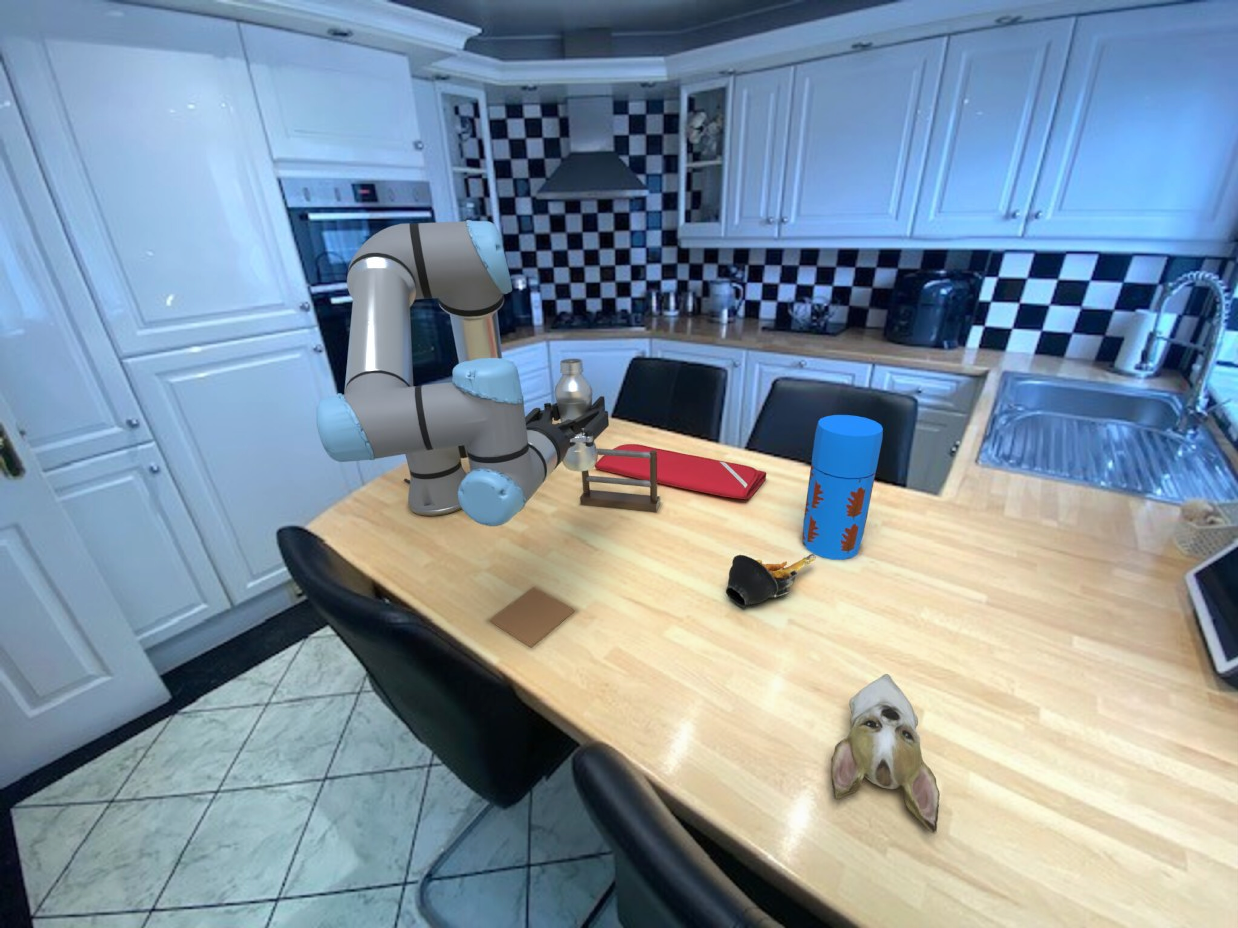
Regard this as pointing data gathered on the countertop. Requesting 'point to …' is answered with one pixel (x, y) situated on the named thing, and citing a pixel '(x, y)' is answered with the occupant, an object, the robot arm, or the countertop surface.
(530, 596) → the coaster
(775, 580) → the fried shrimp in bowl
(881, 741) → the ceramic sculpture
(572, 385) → the silver water bottle
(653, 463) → the rail rack
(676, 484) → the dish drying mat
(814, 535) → the thermos
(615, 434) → the countertop surface
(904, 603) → the countertop surface
